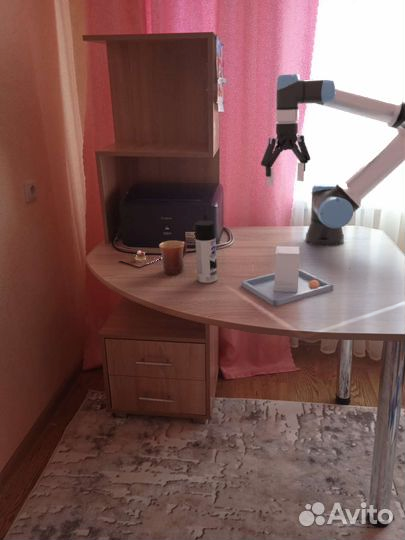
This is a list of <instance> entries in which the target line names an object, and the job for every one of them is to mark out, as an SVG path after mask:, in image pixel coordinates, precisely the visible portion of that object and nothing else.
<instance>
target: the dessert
mask: <svg viewBox="0 0 405 540" xmlns="http://www.w3.org/2000/svg"><path fill="white" fill-rule="evenodd" d="M145 253H146V252H145V251H141V250H137V253H136V254H137V255H136V257H135V260H139V261H142V260H146V258H147V256H145ZM160 257H161V260H162V256H160ZM155 260H156V261H155ZM155 260H153V261H150V262H151V263H150V262H148V263H147V264H148V265H149V263H150V264H153V263H155V262H158V261H160V260H159V259H155ZM157 260H158V261H157ZM154 261H155V262H154ZM152 262H153V263H152Z"/></svg>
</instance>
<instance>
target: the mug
mask: <svg viewBox="0 0 405 540" xmlns="http://www.w3.org/2000/svg"><path fill="white" fill-rule="evenodd" d="M158 246H159V249H160V251H161V257H162V259H161V263H162V265H161V266H162V269H163V272H164V273H165V274H166V275H172V276H173V275H174V276H175V274H176V275H180V274H181V273H182V272H183V271H184V266H185V265H184V258H185V257H186V253H187V249H188V248H187V243H186V242H185V241H181V240H166V241H162V242H161V243H159V244H158Z"/></svg>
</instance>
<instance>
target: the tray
mask: <svg viewBox="0 0 405 540" xmlns="http://www.w3.org/2000/svg"><path fill="white" fill-rule="evenodd" d="M274 278H275V272H273V273H269V274H263V275H260V276H256V277H253V278H249V279H245V280H241V281H240V282H241V283H240V285H241V287H242V288H244V289H245V290H247V291H249V292H250V293H252V294H254V295H255V296H256V297H258V298H260V299H262V300H263V301H264V302H267V303H268V304H269V305H270V306H272V307H278V306H282V305H284V304H288V303H292V302H296V301H298V300H302V299H306V298H310V297H312V296H316V295H319V294H320V295H321V294H323V293H327V292H330V291H333V290H334V284H333V283H330V282H328V281H326V280H324V279H322V278H320V277H318V276H316V275H314V274H311V273H309V272H307V271H305V270H303V269H300V268H299V277H298V292H277V291H274ZM312 280H316V281H318V282H319V287H318V288H314V289H310V288H309V282H310V281H312Z"/></svg>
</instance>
